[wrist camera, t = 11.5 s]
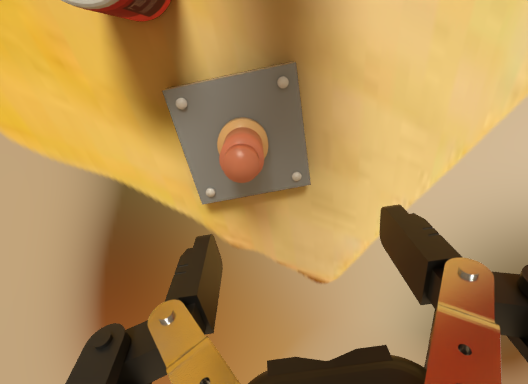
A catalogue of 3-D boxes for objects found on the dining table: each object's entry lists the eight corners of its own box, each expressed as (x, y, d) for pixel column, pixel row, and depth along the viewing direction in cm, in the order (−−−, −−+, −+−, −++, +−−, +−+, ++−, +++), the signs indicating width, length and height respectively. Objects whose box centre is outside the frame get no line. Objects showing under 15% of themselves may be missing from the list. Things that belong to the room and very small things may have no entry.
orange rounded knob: (219, 131, 30) (211, 148, 25) (258, 123, 30) (259, 139, 25) (229, 167, 32) (224, 191, 27) (266, 160, 32) (268, 182, 27)
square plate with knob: (168, 87, 32) (157, 92, 28) (292, 61, 31) (298, 62, 27) (205, 195, 39) (200, 210, 35) (307, 176, 38) (312, 189, 34)
